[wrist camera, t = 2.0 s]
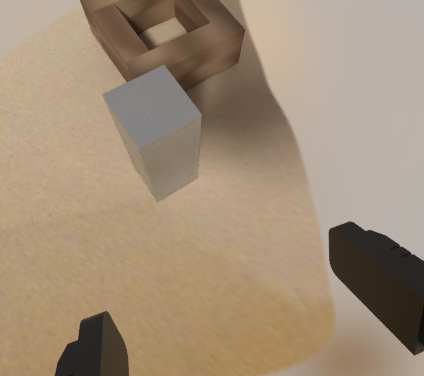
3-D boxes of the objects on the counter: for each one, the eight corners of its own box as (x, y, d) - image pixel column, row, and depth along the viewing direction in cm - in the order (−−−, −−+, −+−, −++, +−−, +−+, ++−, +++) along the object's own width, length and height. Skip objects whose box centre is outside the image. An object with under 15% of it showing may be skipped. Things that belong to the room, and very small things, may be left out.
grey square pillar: (157, 202, 28) (138, 149, 17) (133, 165, 29) (102, 94, 19) (197, 177, 29) (201, 114, 19) (172, 142, 30) (164, 64, 20)
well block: (146, 109, 31) (139, 81, 27) (92, 33, 34) (78, -4, 30) (238, 62, 34) (245, 29, 30) (181, -5, 37) (180, -44, 32)
